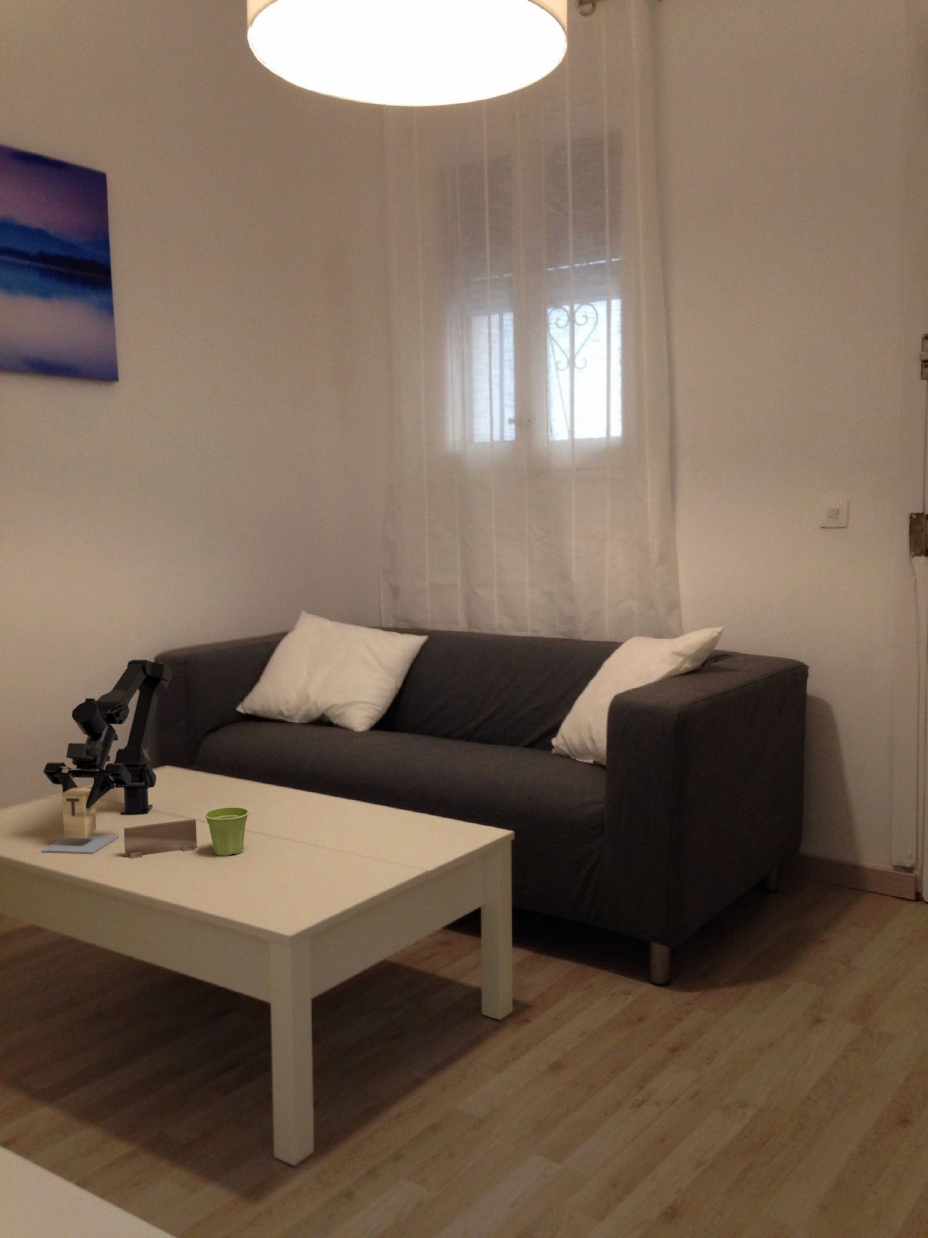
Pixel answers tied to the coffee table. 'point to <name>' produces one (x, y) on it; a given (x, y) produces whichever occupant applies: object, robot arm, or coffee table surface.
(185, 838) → the walnut screen
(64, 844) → the felt mat
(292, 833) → the coffee table surface
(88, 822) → the letter block
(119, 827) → the coffee table surface
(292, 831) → the coffee table surface
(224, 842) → the plant pot
